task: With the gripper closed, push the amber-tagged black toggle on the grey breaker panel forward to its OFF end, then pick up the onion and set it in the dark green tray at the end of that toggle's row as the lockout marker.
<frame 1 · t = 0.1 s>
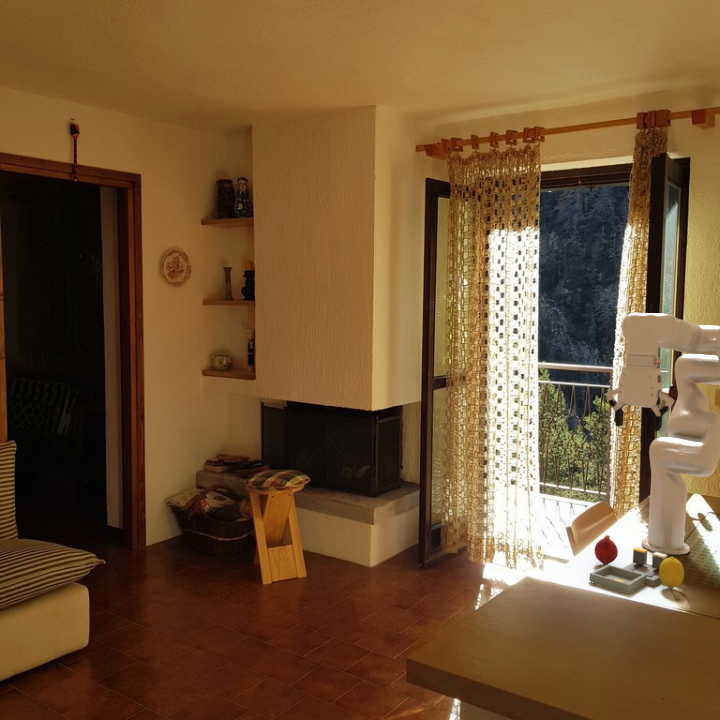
hand: (637, 428, 192), 37 cm above the table, tool pointing down, fingers open, 9 cm apart
breaker panel: (644, 576, 188), on the table
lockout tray: (617, 582, 183), on the table
lemon: (670, 589, 180), on the table
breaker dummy: (659, 561, 188), point 4 cm above the table, slide at 0.0 cm
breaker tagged: (640, 556, 192), point 4 cm above the table, slide at 0.0 cm
onion: (605, 565, 196), on the table
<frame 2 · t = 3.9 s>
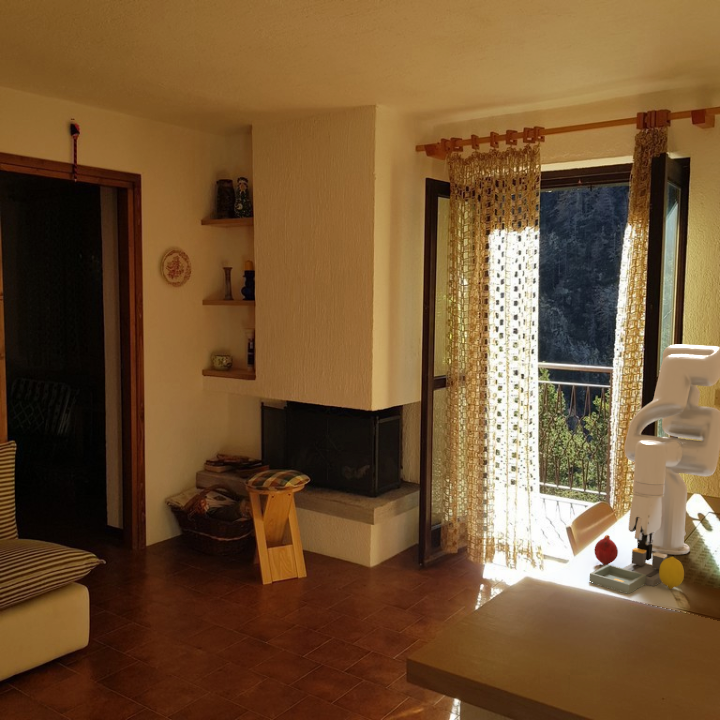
hand: (644, 558, 193), 3 cm above the table, tool pointing down, fingers closed
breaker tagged: (638, 556, 191), point 4 cm above the table, slide at 0.7 cm, touching gripper
everything else where it was.
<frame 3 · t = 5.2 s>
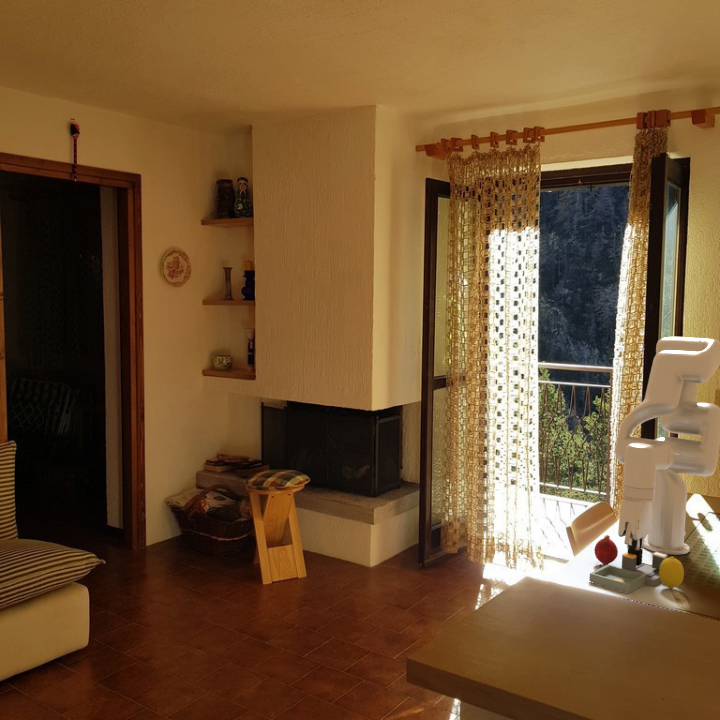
hand: (634, 563, 189), 3 cm above the table, tool pointing down, fingers closed
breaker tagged: (629, 561, 187), point 4 cm above the table, slide at 6.6 cm, touching gripper, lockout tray
everything else where it was.
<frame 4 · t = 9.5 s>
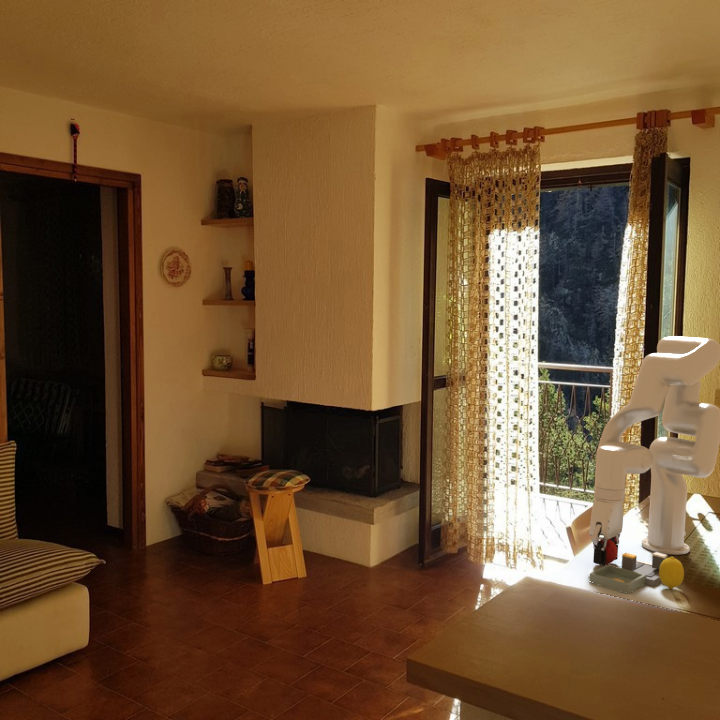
hand: (605, 560, 195), 1 cm above the table, tool pointing down, fingers closed on onion, 5 cm apart
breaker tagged: (629, 561, 187), point 4 cm above the table, slide at 6.6 cm, touching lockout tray
onion: (605, 565, 196), on the table, touching gripper
everything else where it was.
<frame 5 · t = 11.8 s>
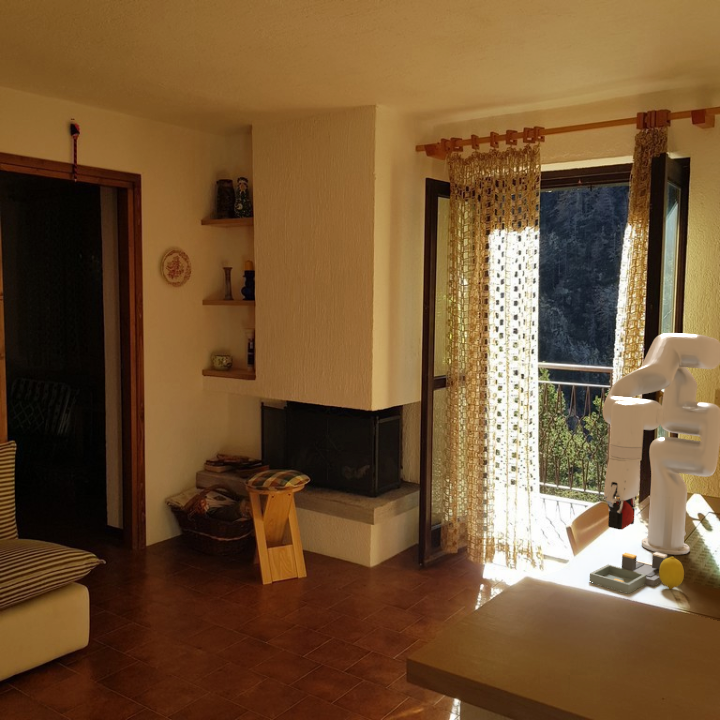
hand: (621, 524, 182), 15 cm above the table, tool pointing down, fingers closed on onion, 5 cm apart
onion: (620, 530, 182), point 13 cm above the table, touching gripper
everything else where it was.
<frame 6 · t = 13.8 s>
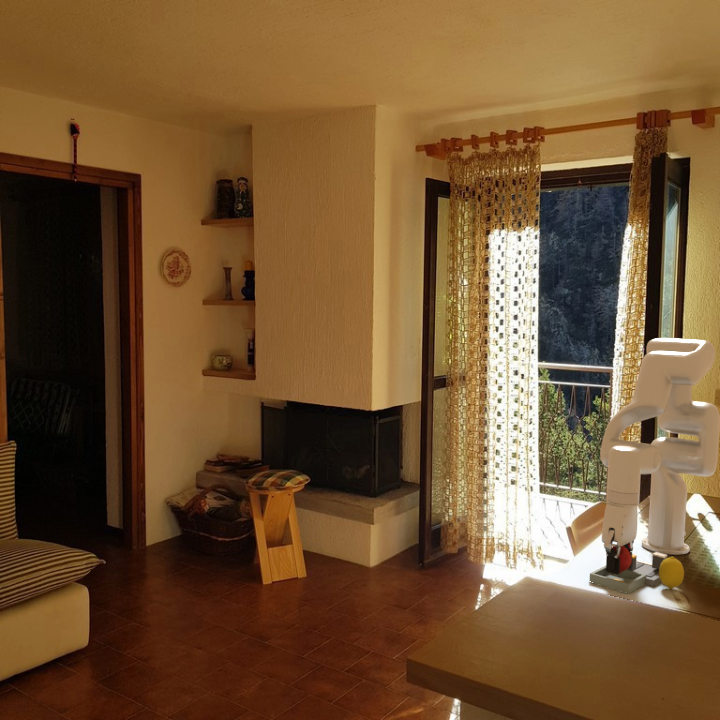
hand: (618, 568, 183), 3 cm above the table, tool pointing down, fingers closed on onion, 5 cm apart
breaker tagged: (629, 561, 187), point 4 cm above the table, slide at 6.5 cm, touching gripper
onion: (618, 574, 183), point 2 cm above the table, touching gripper
everything else where it was.
when the fingers open (3 cm above the table, at t = 14.1 s): onion drops 2 cm, resting on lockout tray.
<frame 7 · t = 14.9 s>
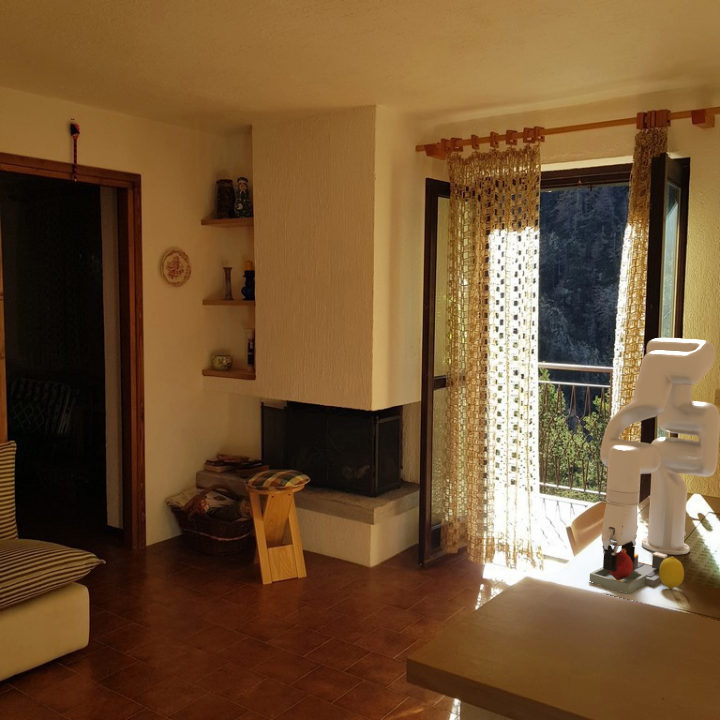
hand: (618, 565, 183), 4 cm above the table, tool pointing down, fingers open, 9 cm apart
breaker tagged: (630, 561, 188), point 4 cm above the table, slide at 5.5 cm, touching gripper
onion: (617, 581, 183), resting on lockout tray
everything else where it was.
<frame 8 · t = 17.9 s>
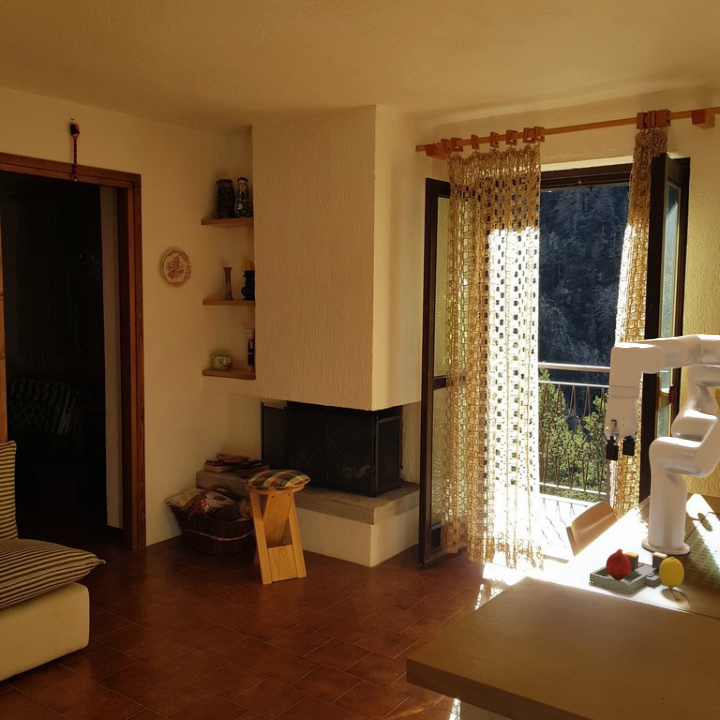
hand: (620, 457, 195), 28 cm above the table, tool pointing down, fingers open, 9 cm apart
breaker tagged: (631, 560, 188), point 4 cm above the table, slide at 5.3 cm
everything else where it was.
at the end: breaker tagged slide at 5.3 cm; onion inside the target area on the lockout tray (0.1 cm from its centre), point 0.3 cm above the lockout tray's base; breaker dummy slide at 0.0 cm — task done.
